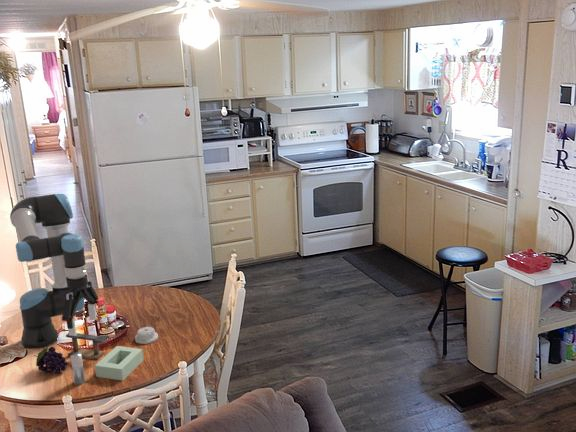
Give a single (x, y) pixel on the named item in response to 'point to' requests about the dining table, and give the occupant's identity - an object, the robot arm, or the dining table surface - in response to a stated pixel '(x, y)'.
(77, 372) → the grey upright peg
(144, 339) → the mechanical component
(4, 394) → the dining table surface
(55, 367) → the fruit
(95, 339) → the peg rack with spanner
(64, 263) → the robot arm
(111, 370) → the slot block
